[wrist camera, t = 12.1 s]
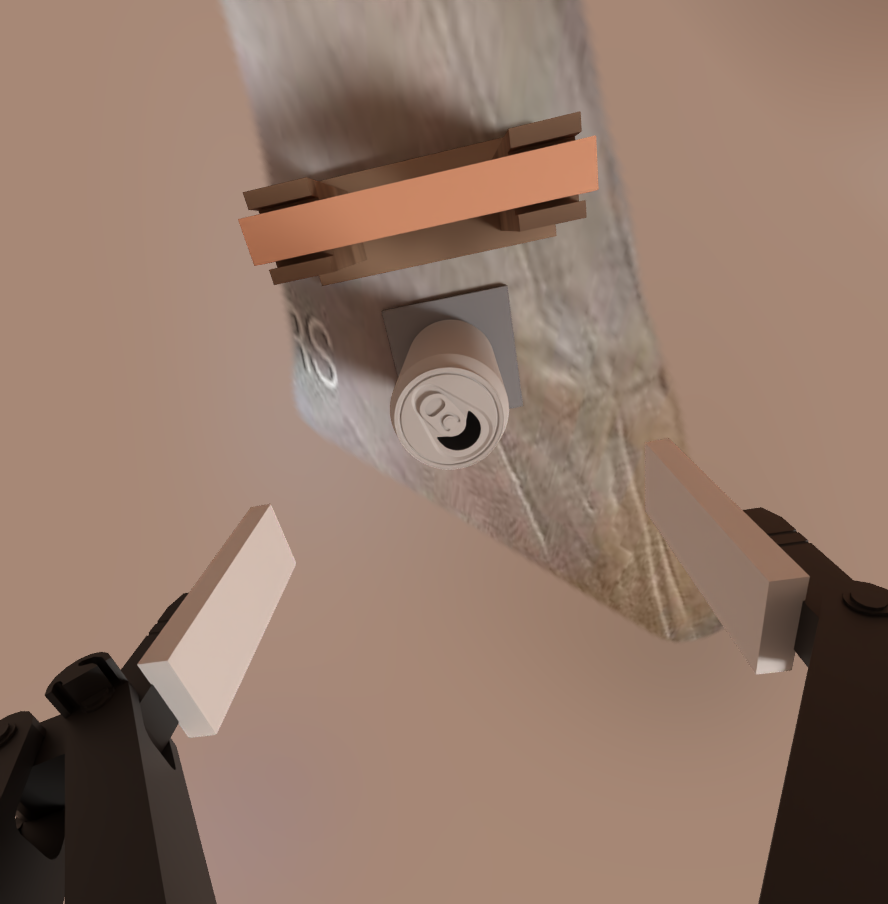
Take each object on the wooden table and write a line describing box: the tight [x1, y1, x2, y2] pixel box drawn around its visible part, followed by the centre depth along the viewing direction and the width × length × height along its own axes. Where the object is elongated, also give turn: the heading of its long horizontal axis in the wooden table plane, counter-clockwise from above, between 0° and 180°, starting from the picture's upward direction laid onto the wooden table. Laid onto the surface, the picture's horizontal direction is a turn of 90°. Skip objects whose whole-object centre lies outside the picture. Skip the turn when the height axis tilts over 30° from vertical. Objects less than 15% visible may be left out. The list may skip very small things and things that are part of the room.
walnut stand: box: [243, 112, 586, 286], centre depth 25 cm, size 6×16×11 cm, turn 101°
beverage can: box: [390, 320, 509, 470], centre depth 29 cm, size 6×6×12 cm
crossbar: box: [238, 136, 598, 266], centre depth 21 cm, size 2×16×2 cm, turn 101°
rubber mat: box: [382, 285, 523, 409], centre depth 34 cm, size 9×9×1 cm
